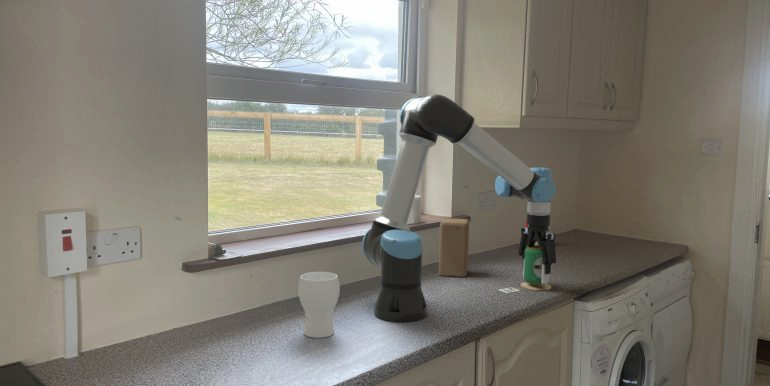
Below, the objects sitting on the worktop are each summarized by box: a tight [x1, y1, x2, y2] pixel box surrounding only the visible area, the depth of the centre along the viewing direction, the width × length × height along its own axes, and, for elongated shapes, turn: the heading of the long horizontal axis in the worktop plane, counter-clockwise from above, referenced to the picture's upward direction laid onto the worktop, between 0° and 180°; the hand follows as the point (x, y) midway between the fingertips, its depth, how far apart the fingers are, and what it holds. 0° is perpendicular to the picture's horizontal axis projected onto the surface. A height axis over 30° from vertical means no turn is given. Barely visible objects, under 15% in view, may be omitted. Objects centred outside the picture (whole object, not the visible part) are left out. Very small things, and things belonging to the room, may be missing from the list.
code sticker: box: [497, 287, 521, 294], centre depth 195 cm, size 6×4×1 cm
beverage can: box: [523, 245, 548, 285], centre depth 199 cm, size 8×8×12 cm
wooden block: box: [438, 217, 470, 278], centre depth 216 cm, size 10×10×20 cm
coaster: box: [520, 281, 552, 292], centre depth 199 cm, size 10×10×1 cm
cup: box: [297, 271, 341, 339], centre depth 151 cm, size 11×11×15 cm
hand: (535, 280), depth 199 cm, fingers closed on beverage can, 8 cm apart
